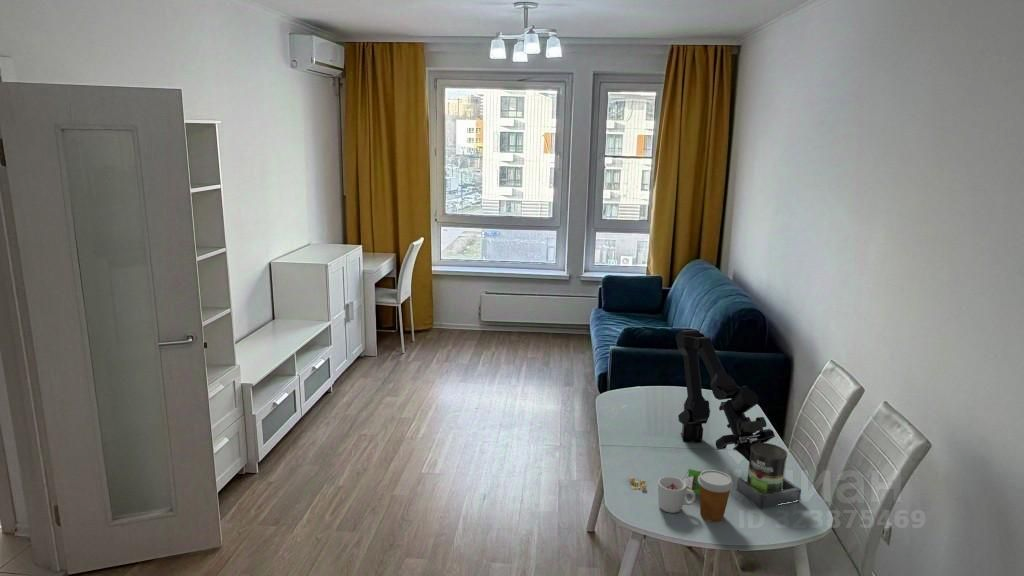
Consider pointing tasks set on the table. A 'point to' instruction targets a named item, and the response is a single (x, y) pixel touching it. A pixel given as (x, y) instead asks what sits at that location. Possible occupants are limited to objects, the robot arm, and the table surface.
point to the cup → (673, 494)
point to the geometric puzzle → (692, 481)
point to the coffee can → (766, 467)
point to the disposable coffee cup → (714, 494)
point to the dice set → (642, 483)
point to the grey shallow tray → (769, 494)
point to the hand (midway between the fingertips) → (755, 465)
